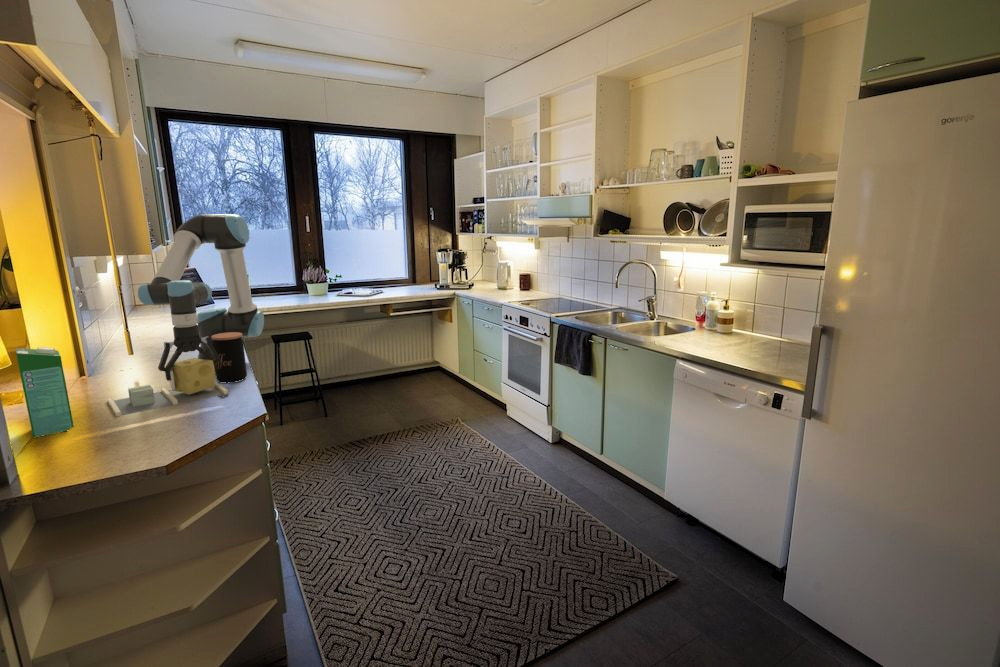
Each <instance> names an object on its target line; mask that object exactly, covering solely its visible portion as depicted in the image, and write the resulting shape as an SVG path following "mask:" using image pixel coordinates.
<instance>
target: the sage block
mask: <svg viewBox="0 0 1000 667" xmlns="http://www.w3.org/2000/svg"><path fill="white" fill-rule="evenodd" d="M127 392H128V398H130V403H131V404H132V406H133V407H136V406H141V405H146V404H151V403H155V399H154V393H155V392H154V388H153V387H152V386H151V385H150V384H145V385H144V384H143V385H140V386H133V387H128V388H127Z"/></svg>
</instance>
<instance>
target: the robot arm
mask: <svg viewBox="0 0 1000 667" xmlns="http://www.w3.org/2000/svg"><path fill="white" fill-rule="evenodd" d="M173 240H174V241H173V243H172V244H171V246H170V249H169V250H168V252H167V253H166V256H165V257H164V259H163V260H162V262H161V264H160V266H159V268H158V270H157V272H156V273H155V275H154V277H153V278H152V280H151V282H150V283H143V284H141V285H139V287H138V288H137V298H138V300H139V302H140V303H141V304H144V305H148V306H149V305H150V306H162V305H163V306H164V305H168V306H169V308H170V316H171V324H172V326H173V327H172V331H173V337H174V338H173V339H174V340H173V341H169V342H168V341H164V342H163V348H164V349H163V352H162V355H161V358H160V361H159V364H158V367H157V369H158V370H159V371H160V372H164V373H165V374H164V375H165V379H166V381H167V382H169V383H170V390H175V383H174V376H173V371H172V370H171V368H172V367H173V365H174V364H175V363H176V362H178V359H179V357H180V356H181V355H182V354H183V353H189V352H195V351H197V352H198V355H197V359H203V360H212V361H213V364H214V368H215V373H216V372H217V368H216V364H217V362H219V361H221V358H220V356H219V355H218V353H217V352H216V350H215V349H214V347H213V345H212V342H213V339H212V338H211V336H212V335H215V334H220V333H228V332H239V333H242V337H241V338H252V337H259V336H260V335H261V334H262V332H263V330H264V325H265V315H264V313H263V311H262V310H258V306H257V304H255V303H254V302H253V299H252V292H251V286H250V282H249V277H248V272H247V266H246V262H245V256H244V249H245V248H246V247H247V243H248V242H249V241H250V230H249V227H248V224H247V222H246V220H245V219H244V218H243V217H242V216H241V215H239V214H231V213H225V214H224V213H220V214H219V213H217V214H216V213H213V214H211V213H210V214H207V213H202V214H198V215H197V214H196V215H194V216H192V217H190V218H189V219H187V220H186V221H184V222H183V223H182V224H180V226H179V227H178V228H177V230H176V231H175V232H174V234H173ZM203 244H213V245H214V248H215V250H216V251H218V252H219V253H220V258H221V262H222V263H221V264H222V269H223V274H224V279H225V284H226V289H227V293H228V298H229V303H230V306H229V307H228V309H227V308H226V307H220V308H212V309H207V310H203V311H202V310H201V311H200V312H198V313H197V308H196V306H197V305H200V304H201V305H202V304H205V302H208V301H209V300H210V299H211V297H212V295H213V291H212V288H211V287H210V286H209V284H207V283H206V282H202V281H201V282H198V281H197V282H193V281H191V280H189V279H185V280H184V279H183V280H182V279H181V278H182V276H183V274H184V272H185V270H186V269H187V267H188V265H189V263H190V261H191V258H192V257H193V255H194V253H195V251H196V250H199V248H201V246H202V245H203ZM173 346H175V347H176V349H175V351H174V353H173V354H172V355H171V357H170V359H169V360H168V357H169V354H170V352H171V349H172V348H173ZM214 357H215V359H214ZM167 361H168V362H167ZM166 363H167V364H166Z"/></svg>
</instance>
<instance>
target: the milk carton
mask: <svg viewBox="0 0 1000 667" xmlns="http://www.w3.org/2000/svg"><path fill="white" fill-rule="evenodd" d="M14 349H15V355H16V359H17V360H16V361H17V364H18V369H19V375H20V380H21V383H22V384H21V385H22V389H23V394H24V399H25V405H26V408H27V413H28V418H29V424H30V428H31V435H32V438H33V437H38V436H42V435H47V436H49V435H48V434H52V435H54V434H53V433H57V434H59V433H58V432H61V433H64V432H63V431H66V432H68V431H67V430H69V428H75V425H74V421H73V415H72V409H71V404H70V399H69V395H68V393H69V392H68V387H67V383H66V382H67V381H66V378H65V372H64V367H63V362H62V361H63V360H62V356H61V354H60V352H59V350H56V348H53V347H46V346H44V347H43V346H40V347H39V346H38V347H37V348H36V349H35V348H20V347H18V348H17V347H16V348H14ZM69 431H70V430H69ZM38 438H39V437H38Z"/></svg>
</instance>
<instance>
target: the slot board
mask: <svg viewBox="0 0 1000 667" xmlns="http://www.w3.org/2000/svg"><path fill="white" fill-rule="evenodd" d="M223 396H226V397H228V396H229V392H228V389H227V388H226V387H224V386H223V385H221V384H220V383H218V382H217V380H215V387H213V388H209V389H206V390H202V391H199V392H195V393H193V394H190V395H188V394H185V393H183V392H177V391H172V389H167V388H166V387H161V388H160V391H157V392H154V399H155V403H151V404H146V405H141V406H136V407H133V406H132V404H131V403H130V398H129V397H124V398H120V399H113V397H107V398H106V400H107V402H108V404H109V406H110V408H111V410H112V412H113V413H114V415H115V416H116V417H120V416H126V415H130V414H136V413H141V412H144V411H145V412H146V411H149V410H150V411H151V410H155V409H159V408H164V407H168V406H175V405H178V404H179V405H180V404H183V403H184V404H185V403H189V402H193V401H198V400H203V399H208V398H212V397H213V398H214V397H217V398H219V397H221V398H224V397H223Z"/></svg>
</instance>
